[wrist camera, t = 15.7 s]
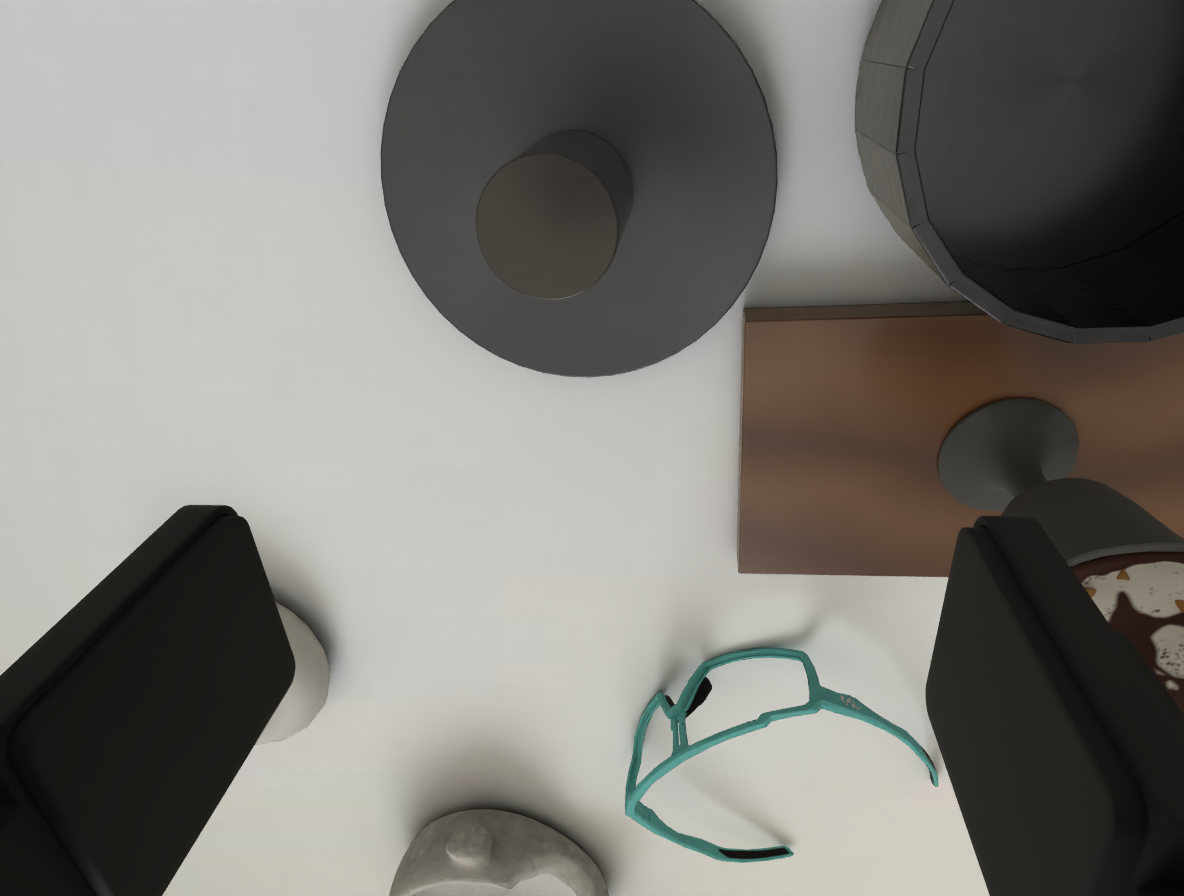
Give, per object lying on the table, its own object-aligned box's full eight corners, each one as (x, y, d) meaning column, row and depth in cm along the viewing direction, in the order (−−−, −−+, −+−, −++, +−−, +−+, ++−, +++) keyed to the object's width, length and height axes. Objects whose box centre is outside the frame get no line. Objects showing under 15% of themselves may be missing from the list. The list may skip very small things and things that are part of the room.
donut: (337, 590, 39) (148, 557, 39) (308, 637, 36) (104, 601, 36) (344, 721, 43) (176, 692, 44) (319, 773, 40) (139, 741, 41)
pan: (876, -154, 22) (937, -216, 16) (1390, -212, 20) (1653, -305, 14) (838, 286, 28) (873, 349, 22) (1227, 273, 26) (1368, 338, 21)
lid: (353, -19, 25) (250, -34, 19) (784, -62, 23) (813, -93, 17) (427, 370, 32) (368, 445, 26) (766, 363, 30) (783, 442, 24)
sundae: (902, 526, 31) (1054, 891, 18) (930, 375, 27) (1141, 685, 14) (1075, 531, 30) (1368, 917, 17) (1124, 376, 27) (1535, 706, 14)
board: (742, 308, 29) (744, 321, 27) (1332, 289, 26) (1366, 303, 25) (736, 553, 34) (738, 573, 33) (1222, 560, 31) (1245, 583, 30)
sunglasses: (775, 595, 35) (795, 682, 31) (960, 739, 40) (999, 830, 36) (577, 730, 41) (571, 817, 37) (759, 839, 46) (772, 927, 42)
